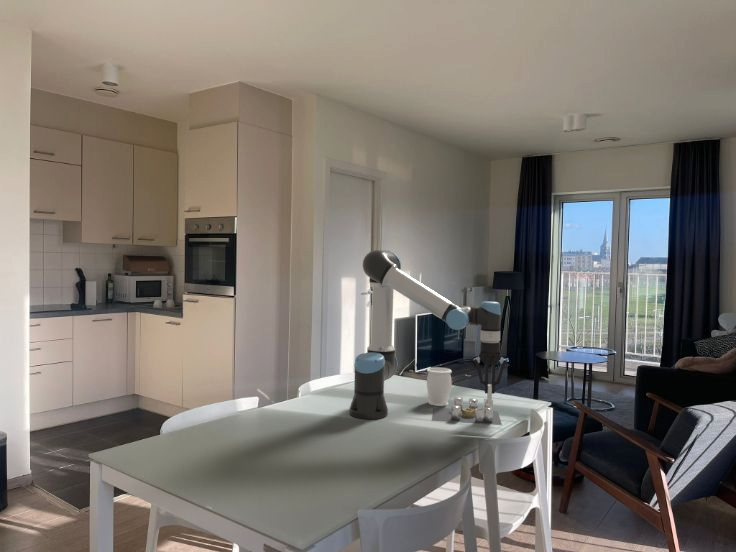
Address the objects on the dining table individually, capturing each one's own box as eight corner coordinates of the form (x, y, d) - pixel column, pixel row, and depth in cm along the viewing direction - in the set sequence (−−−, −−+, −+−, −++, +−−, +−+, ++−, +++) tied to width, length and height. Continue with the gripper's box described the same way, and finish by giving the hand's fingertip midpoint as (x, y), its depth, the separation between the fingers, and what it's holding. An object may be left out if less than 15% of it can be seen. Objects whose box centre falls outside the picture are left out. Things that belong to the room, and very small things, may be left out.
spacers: (450, 421, 215) (451, 408, 215) (450, 408, 234) (451, 396, 234) (495, 424, 213) (496, 411, 213) (492, 411, 231) (492, 398, 231)
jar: (452, 408, 237) (453, 372, 236) (427, 407, 237) (428, 371, 236) (449, 401, 247) (450, 367, 247) (425, 401, 247) (426, 366, 247)
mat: (431, 422, 216) (431, 420, 216) (433, 408, 235) (433, 407, 235) (501, 426, 212) (501, 424, 212) (497, 412, 231) (497, 411, 231)
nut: (464, 417, 221) (465, 411, 221) (461, 414, 226) (461, 407, 226) (475, 417, 221) (476, 411, 221) (471, 414, 226) (472, 407, 226)
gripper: (473, 342, 219) (472, 403, 219) (508, 343, 217) (507, 404, 217) (472, 339, 226) (472, 398, 227) (506, 340, 224) (505, 400, 225)
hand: (489, 401), depth 222 cm, fingers closed
